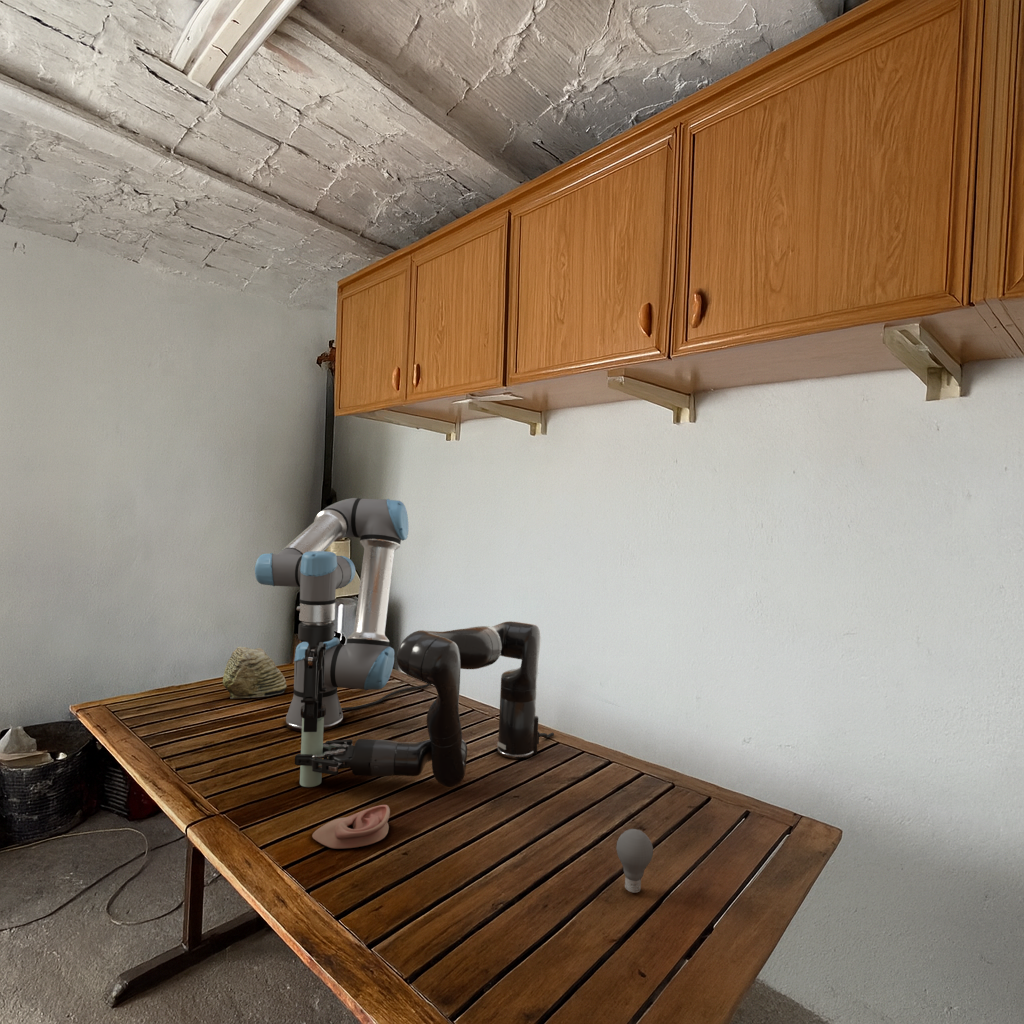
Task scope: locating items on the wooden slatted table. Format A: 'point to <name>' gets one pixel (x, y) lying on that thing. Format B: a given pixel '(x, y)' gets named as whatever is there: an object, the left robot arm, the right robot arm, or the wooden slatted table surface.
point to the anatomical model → (355, 829)
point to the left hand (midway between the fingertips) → (312, 726)
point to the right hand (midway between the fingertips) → (299, 754)
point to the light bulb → (634, 857)
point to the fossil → (252, 674)
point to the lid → (320, 710)
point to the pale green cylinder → (314, 746)
